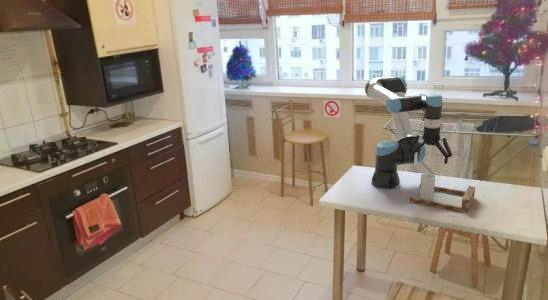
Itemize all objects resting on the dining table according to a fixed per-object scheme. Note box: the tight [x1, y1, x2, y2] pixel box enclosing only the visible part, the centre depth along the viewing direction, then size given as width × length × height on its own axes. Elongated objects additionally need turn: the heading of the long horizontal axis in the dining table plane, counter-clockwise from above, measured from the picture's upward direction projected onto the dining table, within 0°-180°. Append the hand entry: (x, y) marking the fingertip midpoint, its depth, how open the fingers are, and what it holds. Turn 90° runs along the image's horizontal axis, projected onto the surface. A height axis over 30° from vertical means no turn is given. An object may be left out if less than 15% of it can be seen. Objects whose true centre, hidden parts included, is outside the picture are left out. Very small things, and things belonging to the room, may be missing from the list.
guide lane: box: [408, 183, 466, 213], centre depth 213 cm, size 24×20×2 cm
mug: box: [419, 172, 436, 201], centre depth 215 cm, size 10×7×12 cm, turn 157°
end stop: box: [461, 185, 476, 212], centre depth 205 cm, size 3×17×6 cm, turn 147°
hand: (429, 167), depth 211 cm, fingers open, 13 cm apart
